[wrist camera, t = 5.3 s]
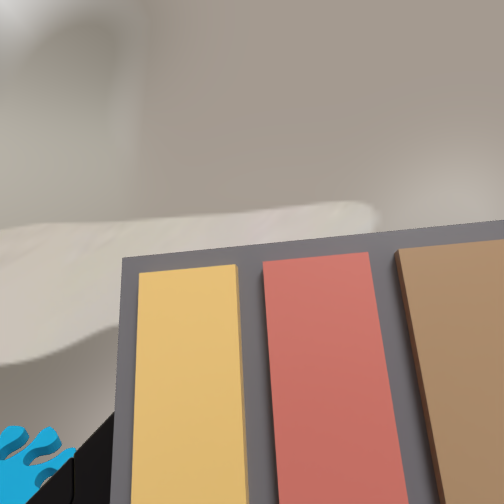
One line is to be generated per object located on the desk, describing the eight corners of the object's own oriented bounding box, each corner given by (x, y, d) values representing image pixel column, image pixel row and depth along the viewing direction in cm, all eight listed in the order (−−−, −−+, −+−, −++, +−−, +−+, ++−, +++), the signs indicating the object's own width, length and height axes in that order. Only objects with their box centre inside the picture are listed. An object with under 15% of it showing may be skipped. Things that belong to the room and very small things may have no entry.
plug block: (377, 435, 13) (757, 883, 2) (259, 438, 13) (85, 805, 3) (360, 314, 14) (541, 210, 3) (252, 322, 15) (115, 254, 4)
